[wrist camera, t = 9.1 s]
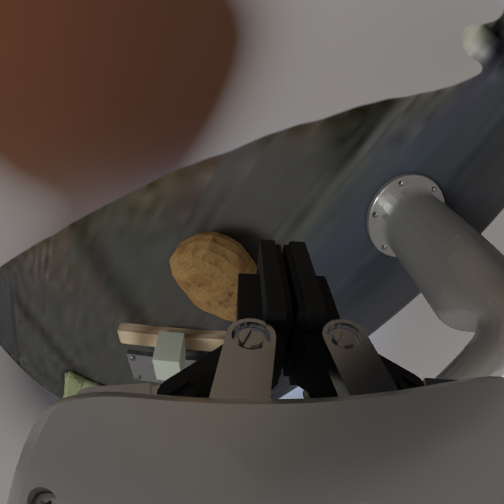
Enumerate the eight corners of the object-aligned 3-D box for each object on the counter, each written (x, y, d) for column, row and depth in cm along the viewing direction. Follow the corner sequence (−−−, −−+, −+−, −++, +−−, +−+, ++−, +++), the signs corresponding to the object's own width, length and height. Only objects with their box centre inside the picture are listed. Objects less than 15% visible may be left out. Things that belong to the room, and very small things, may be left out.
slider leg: (184, 333, 48) (179, 362, 43) (188, 379, 54) (185, 406, 49) (159, 330, 48) (152, 359, 43) (167, 377, 54) (162, 403, 49)
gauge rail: (270, 328, 51) (273, 366, 44) (262, 374, 57) (264, 409, 50) (119, 318, 49) (105, 353, 42) (132, 364, 55) (123, 398, 48)
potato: (229, 307, 48) (228, 346, 41) (161, 246, 42) (147, 281, 35) (281, 273, 45) (288, 311, 38) (214, 202, 39) (207, 232, 32)
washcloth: (63, 398, 65) (60, 407, 62) (66, 365, 57) (62, 376, 54) (109, 417, 68) (106, 427, 66) (120, 388, 61) (117, 400, 58)
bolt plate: (264, 359, 55) (265, 368, 53) (260, 384, 59) (260, 392, 57) (127, 349, 53) (125, 357, 51) (135, 375, 57) (133, 383, 55)
